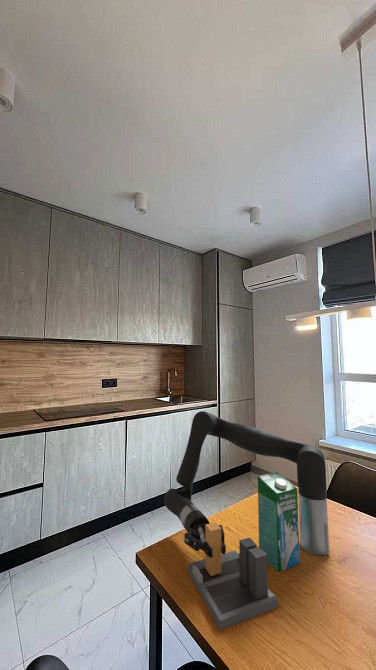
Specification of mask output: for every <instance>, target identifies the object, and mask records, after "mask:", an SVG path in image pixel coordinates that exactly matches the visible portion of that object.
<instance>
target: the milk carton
mask: <svg viewBox="0 0 376 670" xmlns="http://www.w3.org/2000/svg"><path fill="white" fill-rule="evenodd" d="M257 503H258V505H257V506H258V515H257V516H258V547H260V548H261V549H262V550H263V551H264V552H265V553H266V554H267V564H269V565H270V566H272V567H273V568H274V570H276V571H278V573H280V572H283V571H285V570H287V569H289V568H292V567H294V566H296V565H299V564H300V563H301V561H300V559H301V556H300V524H299V495H298V487H296V486H295V485H294V484H293V483H292V482H290V481H289V480H288V479H287V478H286V477H284V476H283V475H281V474H280V473H279V472H278V471H276V472H272V473H271V472H270V473H266V474H261V475H258V476H257Z"/></svg>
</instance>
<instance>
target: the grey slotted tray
mask: <svg viewBox="0 0 376 670" xmlns="http://www.w3.org/2000/svg"><path fill="white" fill-rule="evenodd" d="M238 543H239V545H238V546H239V550H238V551H239V552H238V551H236V550H232V551H228V552H225V554H222V553H221V573H219V574H216V575H213V576H210V574H209V573H208V571H207V570H206V568H205V558H203V559H200V560H196V561H193V562H189V563H187V573H188V572H189V573H188V574H189V576H190V578H191V580H192V581H193V584H194V585H195V587H196V589H197V591H198V592H199V594H200V596H201V599H202V600H203V602H204V604H205V605H206V607H207V609H208V611H209V612H210V614H211V616H212V618H213V620H214V621H215V624H216V625H217V627H218V629H219V631H222V630H224V629H227V628H229V627H231V626H233V625H234V626H235V625H238V624H239V623H242V622H244V621H247V620H249V619H252V618H254V617H257V616H259V615H262V614H265V613H267V612H270V611H272V610H274V609H277V608H278V607H279V603H278V597H277V596H276V595H275V594H274V593H273V592H272V591H271V590H270V588H269V587H268V584H269V583H268V562H267V554H266V553H265V552H264V551H263V550H262V549H261V548H260V547H259V546H258V544H257V543H256V542H254V540H253V539H252V537H251V538H250V537H247V538H246V537H245V538H244V539H243V538H242V539H239V542H238Z"/></svg>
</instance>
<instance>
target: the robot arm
mask: <svg viewBox="0 0 376 670" xmlns="http://www.w3.org/2000/svg"><path fill="white" fill-rule="evenodd" d="M207 436H211V437H217V438H219V439H223V440H226V441H228V442H230V443H231V444H233V445H235V446H237V447H239V448H241V449H243V450H245V451H248V452H250V453H253V454H257V455H260V456H265V457H272V458H273V457H274V458H281V459H284V460H287V461H290V462H292V463H295V464H296V474H297V475H296V476H297V477H296V478H297V495H298V523H299V546H301V548H302V549H303V550H304V551H306V552H308V553H309V554H311V555H315V556H329V557H330V534H329V533H330V531H329V516H328V515H329V513H328V498H327V497H328V496H327V495H328V493H327V487H328V486H327V467H326V466H327V465H326V458H325V455H324V453H323V451H322V450H321V449H320V448H318V447H317V446H315V445H312V444H307V443H303V442H298V441H293V440H290V439H287V438H283V437H282V436H280V435H276V434H273V433H271V432H268V431H265V430H263V429H259V428H256V427H253V426H251V425H248V424H247V425H246V424H244V423H243V424H242V423H236V422H231V421H228V420H225V419H223V418H221V417H218V416H216V415H214V414H213V413H210V412H209V411H205V410H203V411H202V410H201V411H198V412H197V413H196V414H194V416H193V418H192V421H191V426H190V432H189V436H188V437H189V438H188V441H187V445H186V448H185V452H184V455H183V459H182V461H181V464H180V466H179V469H178V472H177V475H176V478H175V479H176V483H178V484H179V485H180V486H183V490H181V489H178V488H177V489H176V488H170V489H168V490H167V491H166V493H165V495H164V505H165V507H166V508H167V510H168V511H170V512H171V513H172V514H173V515H175V516H176V517H178V519H179V521H180V522H181V525H182V527H183V528H184V529H185V531H186V532H184V535H183V536H184V537H183V538H184V541H183V543H184V544H185V545H187V546H188V547H190V548H191V549H192V550H194V551H196V552H199V551H200V550H201V551H202V552H204V555H205V554H206V555H207V556H209V557H210V558H212V557H213V550H212V548H211V547H210V546H209V544H208V543H207V542H206V541H205V525H206V524H211V523H210V521H209V519H208V518H207V516H205V515H204V513H203V512H202V511H201V509H199V507H197V506H196V505H195V504H194V503H193V502H192V495H193V486H194V485H193V484H194V481H195V479H196V475H197V474H198V473H197V472H198V471H199V465H200V460H201V453H202V448H203V445H204V443H205V439H206V437H207ZM218 525H219V527H220V528H221V554H225V553H227V550H226V548H227V545H226V543H225V531H224V528H223V525H222V524H218Z"/></svg>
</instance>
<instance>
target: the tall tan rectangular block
mask: <svg viewBox="0 0 376 670" xmlns="http://www.w3.org/2000/svg"><path fill="white" fill-rule="evenodd" d="M219 525H220V524H218V522H215V521H214V522H211V523H210V524H206V525H205V541H206V542H207V543H208V544H209V546H210V547H211V548H212V550H213V557H212V558H210V557H209V556H207V555H206V554H205V553H204V555H205V558H204V559H205V568H206V570H207V571H208V573H209V574H210V576H213V575H216V574H219V573H221V554H222V553H221V528H220V527H219Z"/></svg>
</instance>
